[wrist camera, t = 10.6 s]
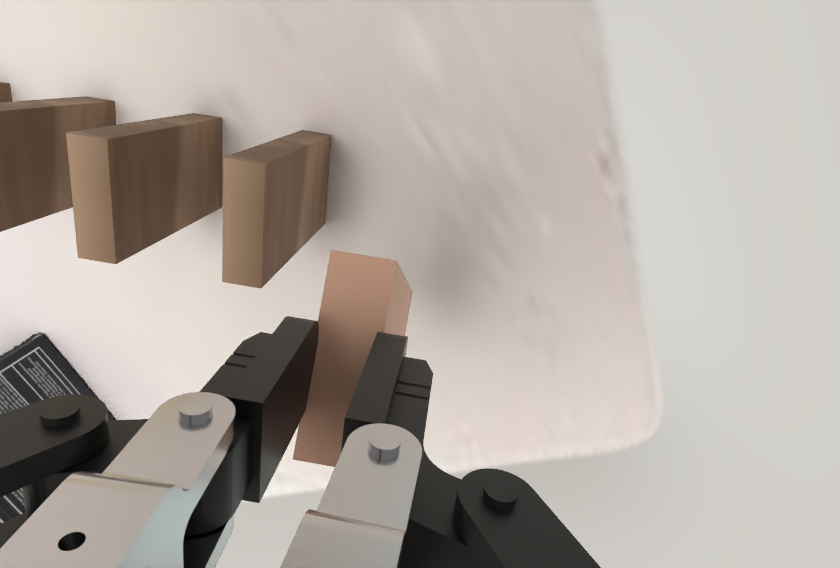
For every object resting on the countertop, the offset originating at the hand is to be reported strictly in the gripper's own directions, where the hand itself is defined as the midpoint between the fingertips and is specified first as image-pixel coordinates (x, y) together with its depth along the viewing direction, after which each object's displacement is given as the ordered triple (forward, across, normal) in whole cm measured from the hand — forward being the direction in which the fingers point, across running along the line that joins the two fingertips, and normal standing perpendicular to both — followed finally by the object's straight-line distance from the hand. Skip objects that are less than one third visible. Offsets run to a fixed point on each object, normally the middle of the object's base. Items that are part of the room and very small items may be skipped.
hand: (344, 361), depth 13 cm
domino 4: (+9, 0, +4) cm, 10 cm away
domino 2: (+19, +12, 0) cm, 22 cm away
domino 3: (+19, +6, 0) cm, 20 cm away
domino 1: (+19, +18, 0) cm, 26 cm away
